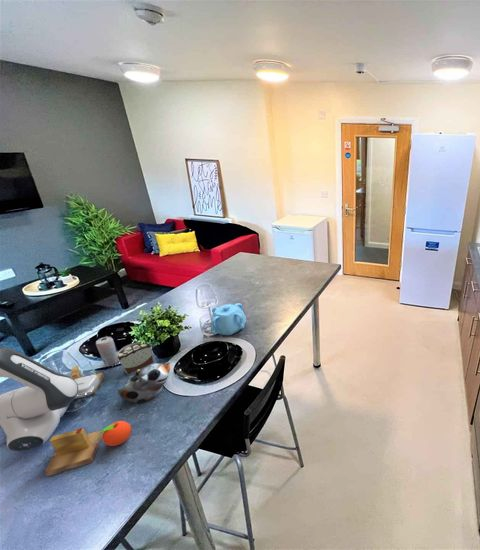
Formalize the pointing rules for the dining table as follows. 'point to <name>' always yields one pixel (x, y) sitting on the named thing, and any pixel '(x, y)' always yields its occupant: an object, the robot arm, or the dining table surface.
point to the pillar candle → (107, 351)
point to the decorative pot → (228, 319)
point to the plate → (100, 376)
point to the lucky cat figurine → (145, 383)
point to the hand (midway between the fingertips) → (69, 376)
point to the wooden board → (75, 456)
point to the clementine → (116, 433)
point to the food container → (135, 357)
